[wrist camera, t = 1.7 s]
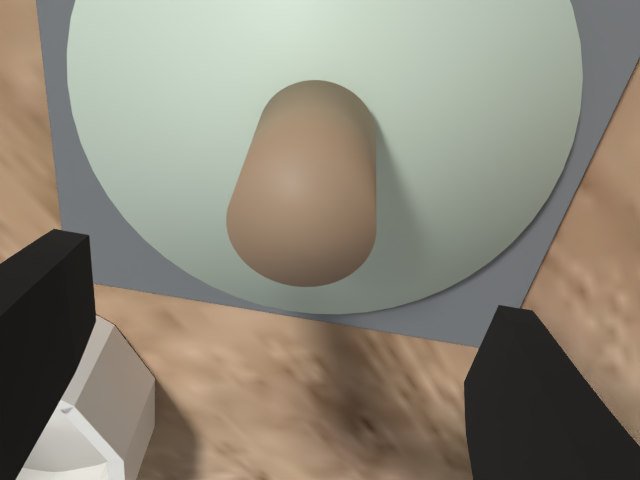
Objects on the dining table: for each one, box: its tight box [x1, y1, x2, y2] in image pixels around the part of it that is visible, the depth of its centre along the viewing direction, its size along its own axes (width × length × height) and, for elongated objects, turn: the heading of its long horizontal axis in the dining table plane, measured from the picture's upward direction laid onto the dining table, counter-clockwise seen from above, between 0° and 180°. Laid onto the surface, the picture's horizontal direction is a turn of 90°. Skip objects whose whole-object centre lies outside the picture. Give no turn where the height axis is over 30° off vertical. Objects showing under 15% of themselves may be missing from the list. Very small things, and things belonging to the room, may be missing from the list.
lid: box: [67, 0, 583, 314], centre depth 15 cm, size 14×14×6 cm
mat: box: [36, 0, 640, 348], centre depth 18 cm, size 16×16×1 cm
